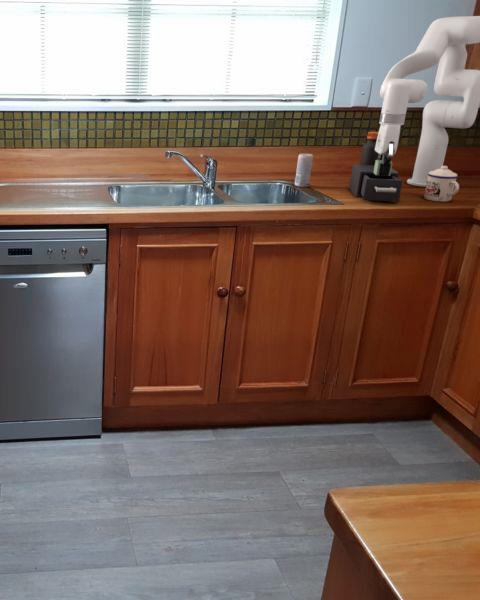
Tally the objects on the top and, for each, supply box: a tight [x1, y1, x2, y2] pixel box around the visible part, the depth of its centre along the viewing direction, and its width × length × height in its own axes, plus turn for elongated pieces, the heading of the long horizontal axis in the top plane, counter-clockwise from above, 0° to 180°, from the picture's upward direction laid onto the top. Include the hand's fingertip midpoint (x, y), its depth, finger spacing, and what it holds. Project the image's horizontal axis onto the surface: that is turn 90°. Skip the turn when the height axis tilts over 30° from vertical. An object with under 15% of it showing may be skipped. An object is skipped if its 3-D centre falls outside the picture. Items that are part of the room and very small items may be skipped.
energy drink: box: [294, 153, 314, 188], centre depth 234 cm, size 5×5×12 cm
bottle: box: [359, 131, 379, 165], centre depth 234 cm, size 7×7×20 cm
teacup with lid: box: [423, 165, 460, 203], centre depth 212 cm, size 12×9×12 cm
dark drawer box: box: [348, 164, 400, 198], centre depth 222 cm, size 15×13×9 cm
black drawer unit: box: [359, 174, 404, 203], centre depth 212 cm, size 18×11×7 cm, turn 167°
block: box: [373, 160, 393, 176], centre depth 210 cm, size 4×4×4 cm
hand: (381, 173), depth 211 cm, fingers closed on block, 4 cm apart
